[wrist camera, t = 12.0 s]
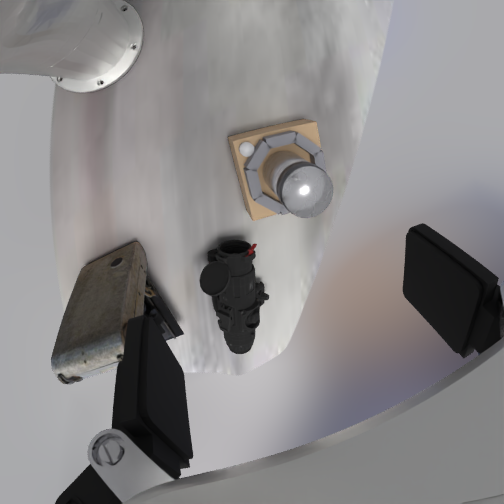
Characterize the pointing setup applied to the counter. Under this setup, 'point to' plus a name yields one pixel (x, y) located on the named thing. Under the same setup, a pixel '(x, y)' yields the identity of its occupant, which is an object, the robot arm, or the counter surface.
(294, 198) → the lens
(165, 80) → the counter surface
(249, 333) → the night vision scope
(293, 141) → the mount
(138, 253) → the vintage camera
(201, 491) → the robot arm
